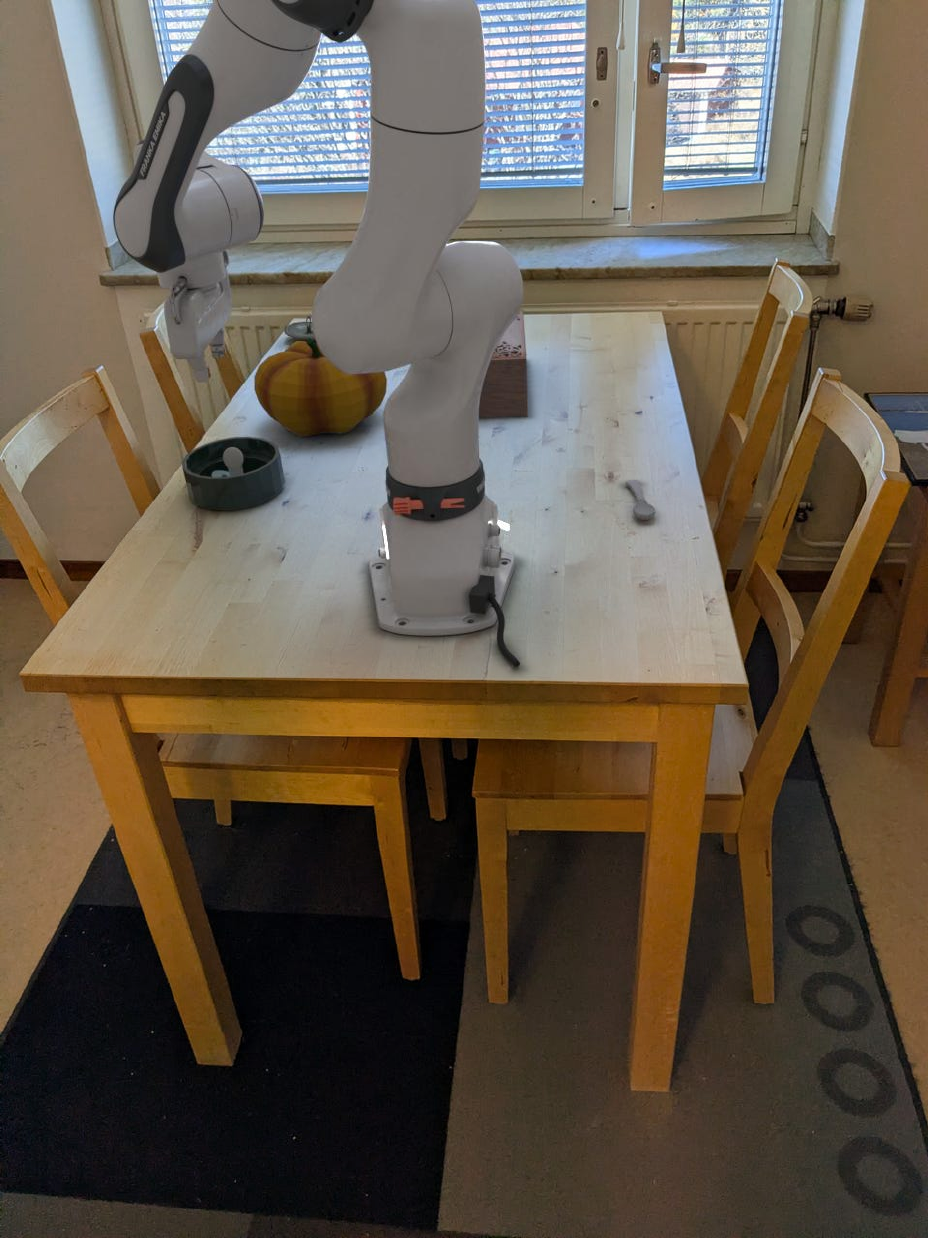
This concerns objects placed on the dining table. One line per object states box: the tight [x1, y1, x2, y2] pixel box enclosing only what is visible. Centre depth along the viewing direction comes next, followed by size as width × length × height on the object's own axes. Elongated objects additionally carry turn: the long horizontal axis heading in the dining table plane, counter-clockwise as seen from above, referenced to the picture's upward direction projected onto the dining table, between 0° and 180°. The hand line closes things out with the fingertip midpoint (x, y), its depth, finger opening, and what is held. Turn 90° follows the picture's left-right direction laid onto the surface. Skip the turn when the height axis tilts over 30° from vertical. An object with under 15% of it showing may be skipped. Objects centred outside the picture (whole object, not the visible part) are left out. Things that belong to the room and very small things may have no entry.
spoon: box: [625, 479, 656, 521], centre depth 137 cm, size 3×12×2 cm, turn 1°
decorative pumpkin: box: [253, 338, 388, 437], centre depth 163 cm, size 20×22×15 cm
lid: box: [283, 315, 316, 342], centre depth 203 cm, size 11×10×5 cm
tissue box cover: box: [479, 308, 529, 420], centre depth 173 cm, size 26×14×10 cm, turn 178°
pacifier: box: [212, 447, 244, 477], centre depth 145 cm, size 7×6×6 cm
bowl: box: [181, 436, 286, 511], centre depth 146 cm, size 14×14×6 cm
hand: (212, 368), depth 138 cm, fingers open, 8 cm apart
